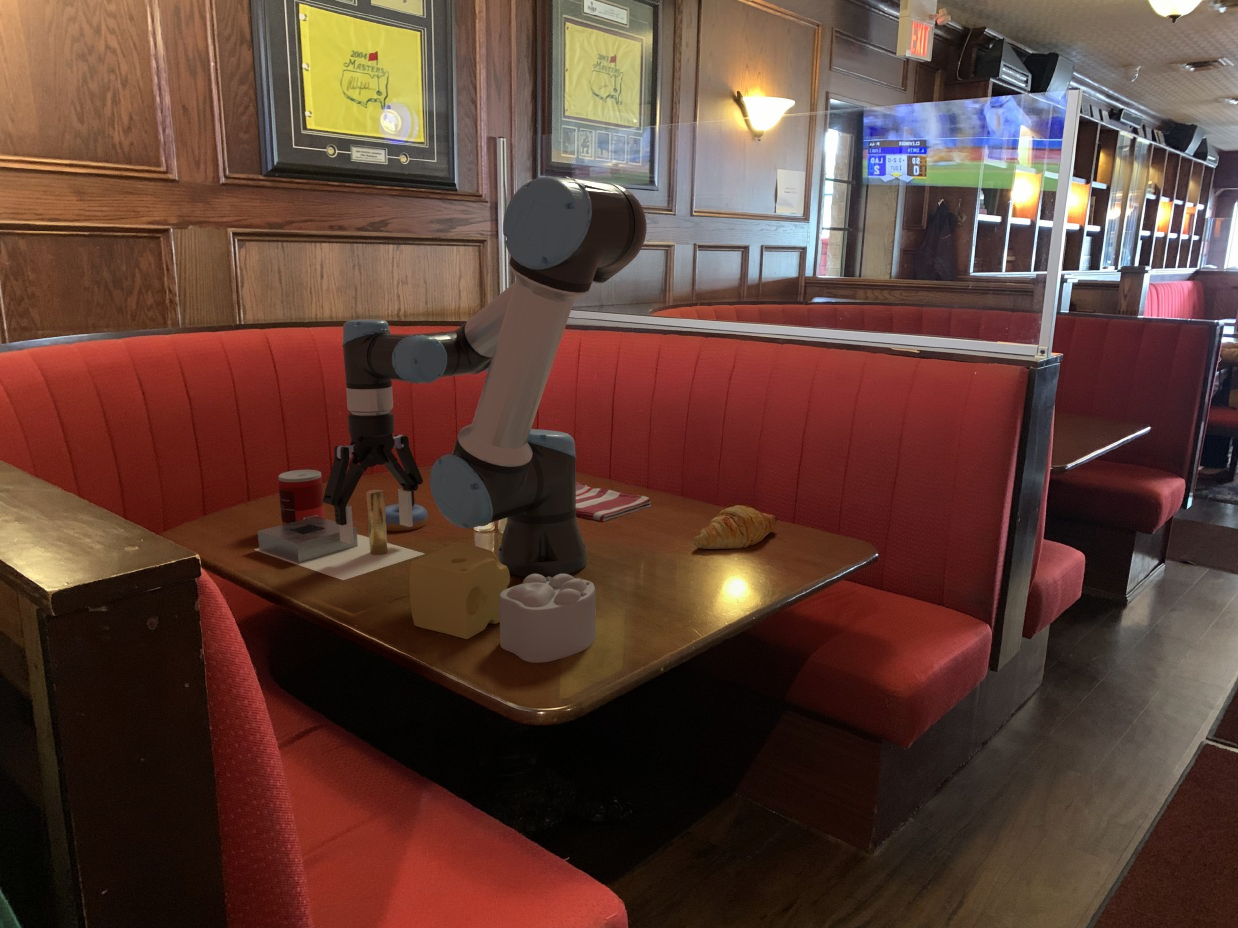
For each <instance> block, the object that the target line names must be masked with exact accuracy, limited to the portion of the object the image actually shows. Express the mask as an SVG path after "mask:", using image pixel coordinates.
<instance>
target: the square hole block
mask: <svg viewBox="0 0 1238 928" xmlns="http://www.w3.org/2000/svg"><path fill="white" fill-rule="evenodd" d="M357 534H358V531H357V527H355V526H353V538H354V543H352V544H348V543H345V542H341V541H340V529H339V525H338V524H336V522H335V521H334V520H331V519H328V518H325V517H324V518H321V517H318V516H316V517H312V518H308V519H304V520H300V521H296V522H292V523H288V524H284V525H282V524H280V525H276V526H272V527H268V528H264V529H259V530H257V539H258V540H257V541H258V548H259V550H261V551H264V552H267V553H270V554H273V555H276V556H279V557H282V558H285V559H288V560H290V561H293V562H296V563H301V562H305V561H308V560H312V559H315V558H319V557H322V556H326V555H329V554H332V553H336V552H339V551H343V550H346V549H350V548H353V547H356V546H358V543H357Z"/></svg>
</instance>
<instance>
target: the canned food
mask: <svg viewBox="0 0 1238 928" xmlns="http://www.w3.org/2000/svg"><path fill="white" fill-rule="evenodd" d="M277 477H278V478H277V480H278V481H277V482H278V483H277V484H278V494H279V495H278V496H279V506H280V514H281V525H284V524H288V523H292V522H296V521H300V520H304V519H308V518H312V517H316V516H318V517H321V518H325V506H324V504H325V503H324V502H323V497H324V491H323V490H324V489H323V479H322V472H321V471H319V470H317V469H295V470H289V471H286V472H282V473H280V474H279V475H278V476H277Z"/></svg>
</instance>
